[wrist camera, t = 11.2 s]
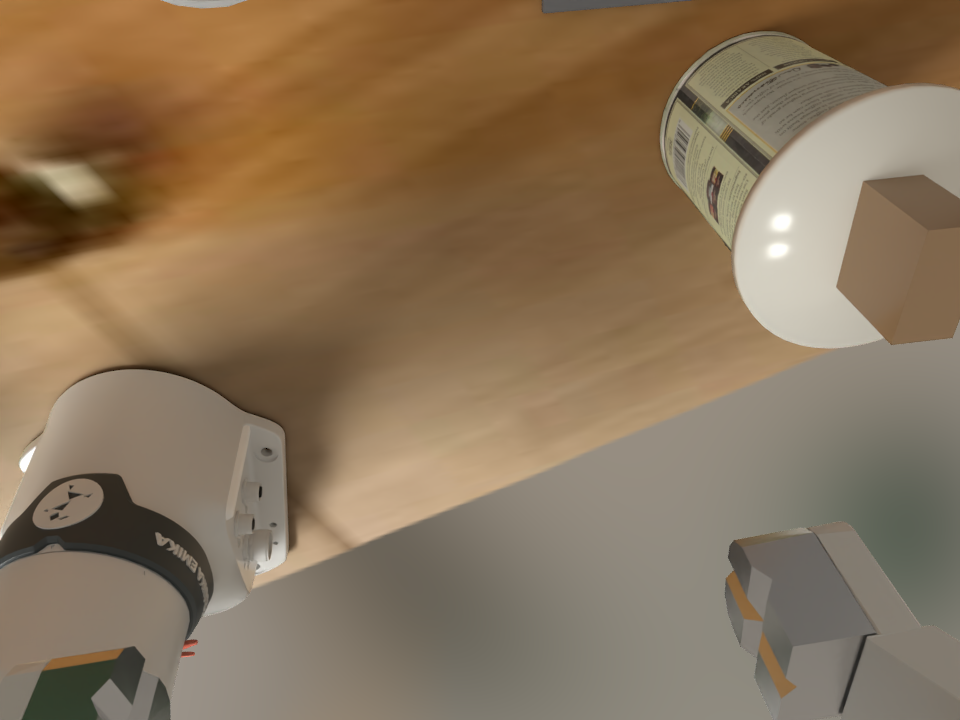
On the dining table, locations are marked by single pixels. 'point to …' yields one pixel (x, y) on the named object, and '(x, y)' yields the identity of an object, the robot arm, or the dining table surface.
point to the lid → (858, 224)
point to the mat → (593, 4)
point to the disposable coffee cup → (204, 3)
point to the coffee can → (746, 116)
